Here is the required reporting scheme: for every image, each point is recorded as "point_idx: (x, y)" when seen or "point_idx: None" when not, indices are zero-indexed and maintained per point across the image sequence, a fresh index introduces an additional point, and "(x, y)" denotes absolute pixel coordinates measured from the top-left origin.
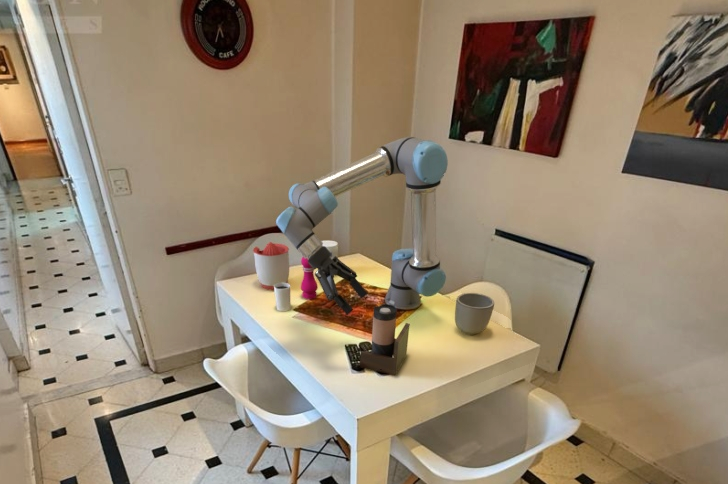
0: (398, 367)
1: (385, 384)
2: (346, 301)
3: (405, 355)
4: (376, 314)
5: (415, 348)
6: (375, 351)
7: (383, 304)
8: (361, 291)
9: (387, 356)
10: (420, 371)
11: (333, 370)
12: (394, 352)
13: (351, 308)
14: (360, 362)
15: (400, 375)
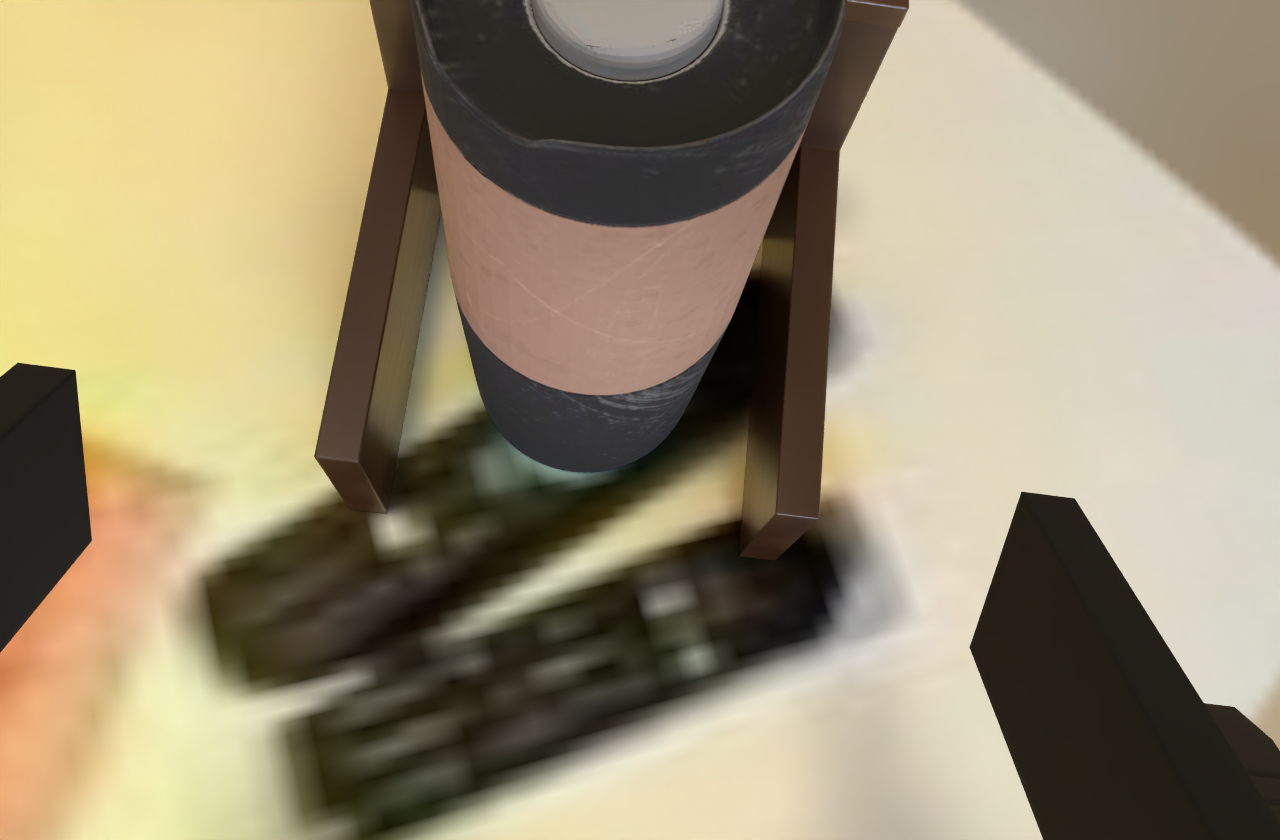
0: None
1: (968, 274)
2: (1115, 649)
3: None
4: (802, 112)
5: (245, 92)
6: (706, 367)
7: (424, 16)
8: (10, 507)
9: (799, 216)
10: None
11: (921, 834)
12: (865, 94)
13: (1069, 525)
14: (790, 544)
15: None
